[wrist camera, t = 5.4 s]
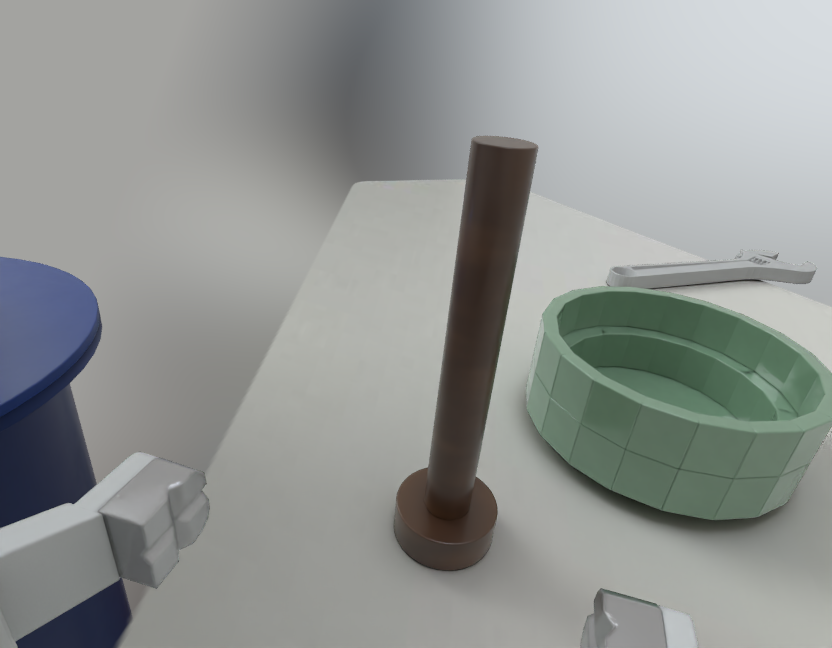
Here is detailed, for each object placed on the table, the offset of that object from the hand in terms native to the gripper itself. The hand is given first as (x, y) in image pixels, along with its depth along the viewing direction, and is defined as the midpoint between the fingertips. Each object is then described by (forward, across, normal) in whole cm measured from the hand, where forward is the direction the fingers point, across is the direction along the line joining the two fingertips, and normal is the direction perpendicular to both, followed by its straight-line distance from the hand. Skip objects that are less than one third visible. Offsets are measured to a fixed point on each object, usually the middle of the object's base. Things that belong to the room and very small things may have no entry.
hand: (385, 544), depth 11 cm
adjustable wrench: (+51, -19, +10) cm, 55 cm away
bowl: (+21, -10, +10) cm, 25 cm away
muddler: (+10, 0, +10) cm, 14 cm away
